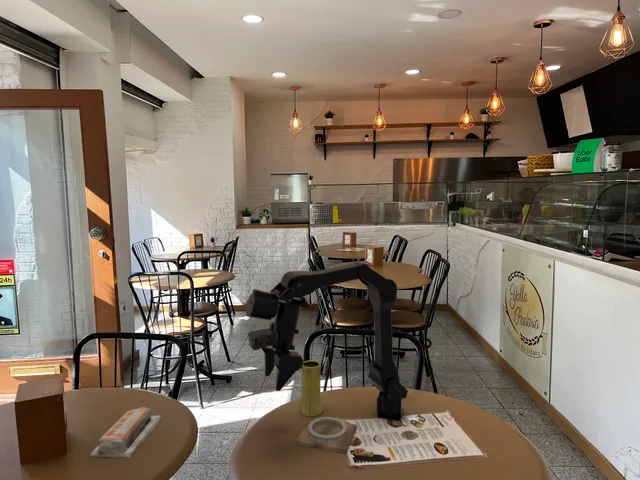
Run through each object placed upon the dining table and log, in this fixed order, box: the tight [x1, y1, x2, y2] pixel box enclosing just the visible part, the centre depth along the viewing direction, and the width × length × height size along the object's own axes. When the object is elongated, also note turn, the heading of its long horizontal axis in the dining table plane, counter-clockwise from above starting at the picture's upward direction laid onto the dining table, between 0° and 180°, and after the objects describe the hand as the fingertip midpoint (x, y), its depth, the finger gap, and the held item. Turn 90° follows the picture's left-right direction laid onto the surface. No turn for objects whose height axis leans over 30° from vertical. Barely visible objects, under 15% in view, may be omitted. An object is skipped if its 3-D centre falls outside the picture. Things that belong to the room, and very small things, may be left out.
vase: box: [300, 359, 323, 417], centre depth 125 cm, size 6×6×14 cm
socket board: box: [295, 416, 358, 454], centre depth 113 cm, size 13×12×2 cm
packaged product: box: [89, 406, 161, 459], centre depth 113 cm, size 18×5×10 cm
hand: (272, 382), depth 109 cm, fingers open, 9 cm apart
